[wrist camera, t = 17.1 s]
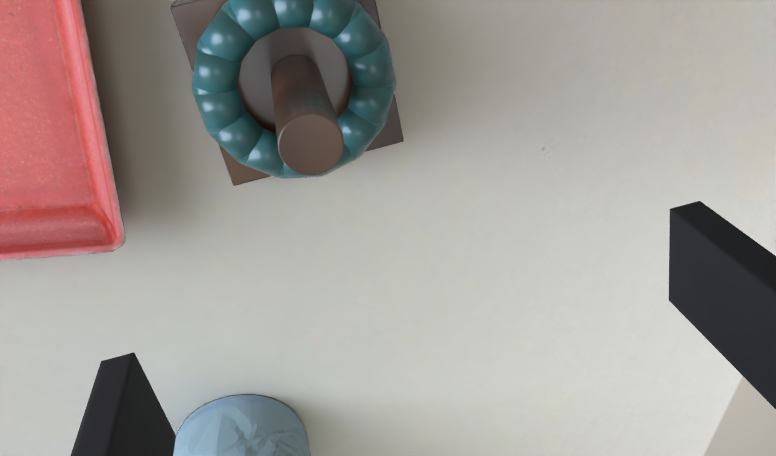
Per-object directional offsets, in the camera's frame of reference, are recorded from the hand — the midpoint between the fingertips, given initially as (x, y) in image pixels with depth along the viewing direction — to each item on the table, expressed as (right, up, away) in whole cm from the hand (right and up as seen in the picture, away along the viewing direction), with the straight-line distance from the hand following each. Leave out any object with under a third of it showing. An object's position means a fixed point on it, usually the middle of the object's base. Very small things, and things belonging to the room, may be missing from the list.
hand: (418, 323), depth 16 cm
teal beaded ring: (-5, +9, +15) cm, 18 cm away
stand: (-5, +10, +17) cm, 21 cm away
